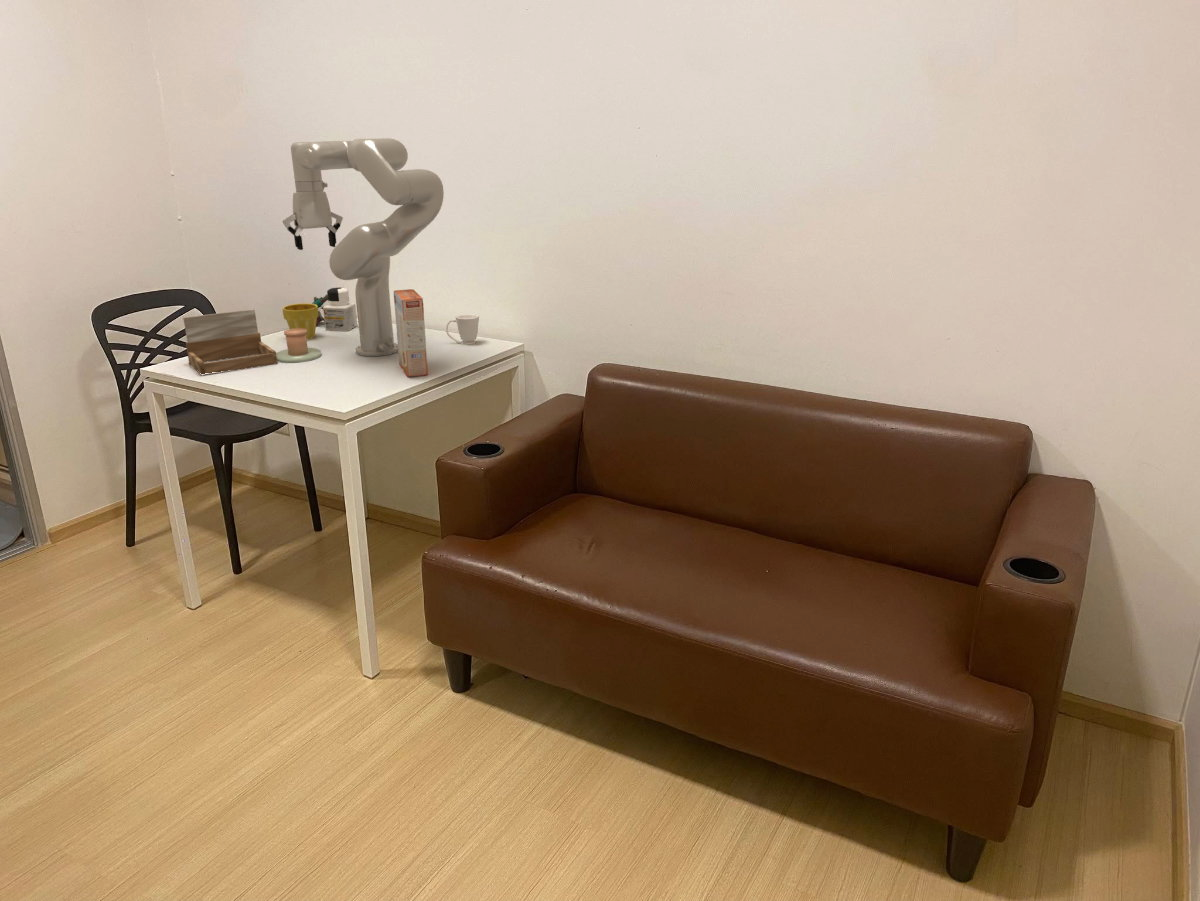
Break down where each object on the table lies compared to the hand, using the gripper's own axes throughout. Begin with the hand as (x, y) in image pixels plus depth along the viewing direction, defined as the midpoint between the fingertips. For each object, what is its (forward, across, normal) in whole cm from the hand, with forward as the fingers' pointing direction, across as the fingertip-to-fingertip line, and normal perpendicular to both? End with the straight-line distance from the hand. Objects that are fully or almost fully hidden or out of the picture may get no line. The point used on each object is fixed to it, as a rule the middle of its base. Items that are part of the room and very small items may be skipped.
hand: (316, 247), depth 261 cm
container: (+28, -10, -15) cm, 34 cm away
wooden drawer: (+28, +30, +8) cm, 42 cm away
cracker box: (+28, -8, +45) cm, 54 cm away
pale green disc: (+28, +13, +12) cm, 33 cm away
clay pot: (+27, +13, +12) cm, 32 cm away
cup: (+28, -33, +26) cm, 51 cm away
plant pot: (+28, +4, -10) cm, 30 cm away
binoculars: (+29, -6, -25) cm, 38 cm away
